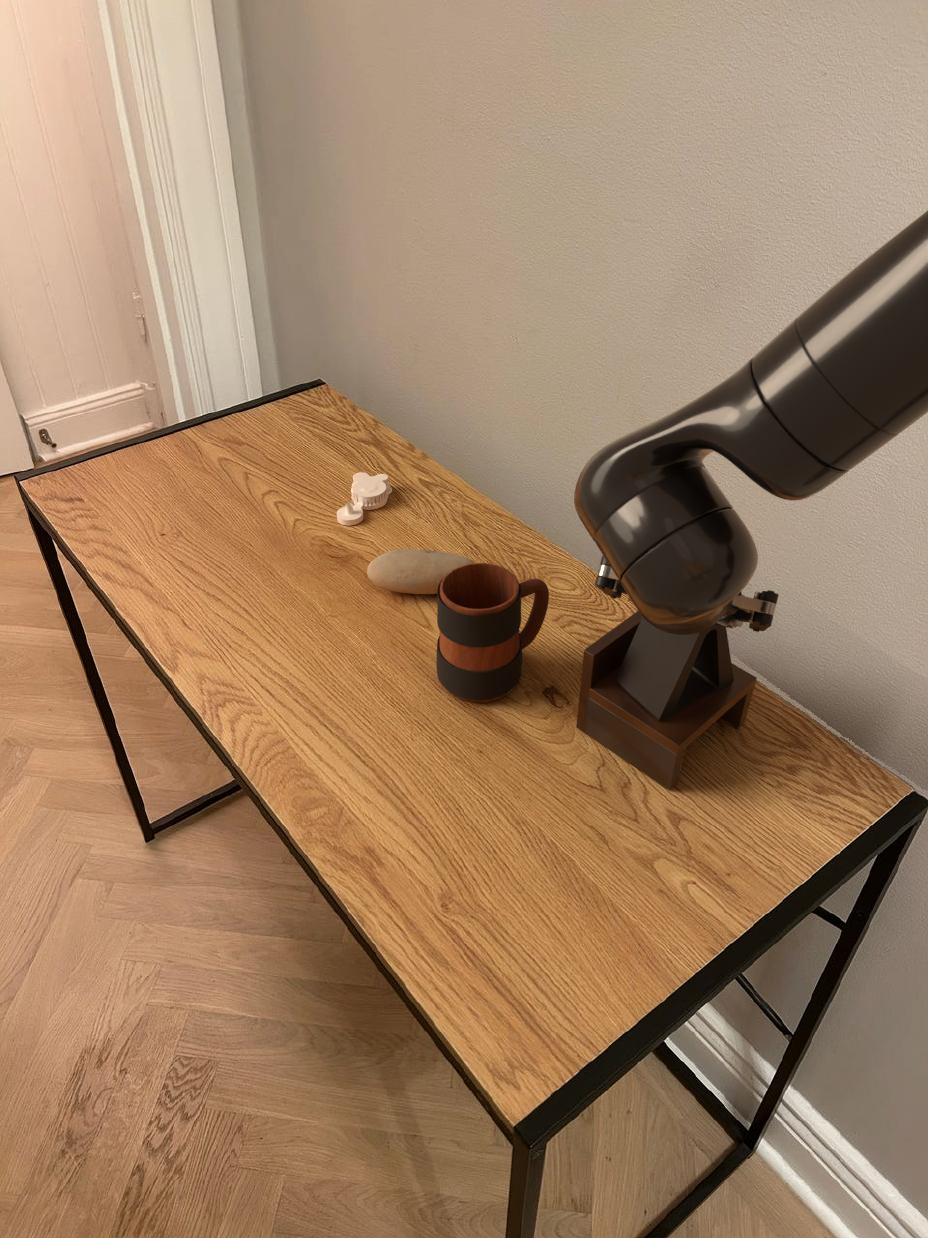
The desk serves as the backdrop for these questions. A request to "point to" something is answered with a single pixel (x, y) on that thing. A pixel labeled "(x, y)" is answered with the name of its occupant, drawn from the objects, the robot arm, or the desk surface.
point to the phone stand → (675, 668)
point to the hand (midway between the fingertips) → (689, 606)
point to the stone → (413, 570)
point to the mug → (484, 630)
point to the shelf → (635, 728)
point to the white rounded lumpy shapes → (364, 497)
